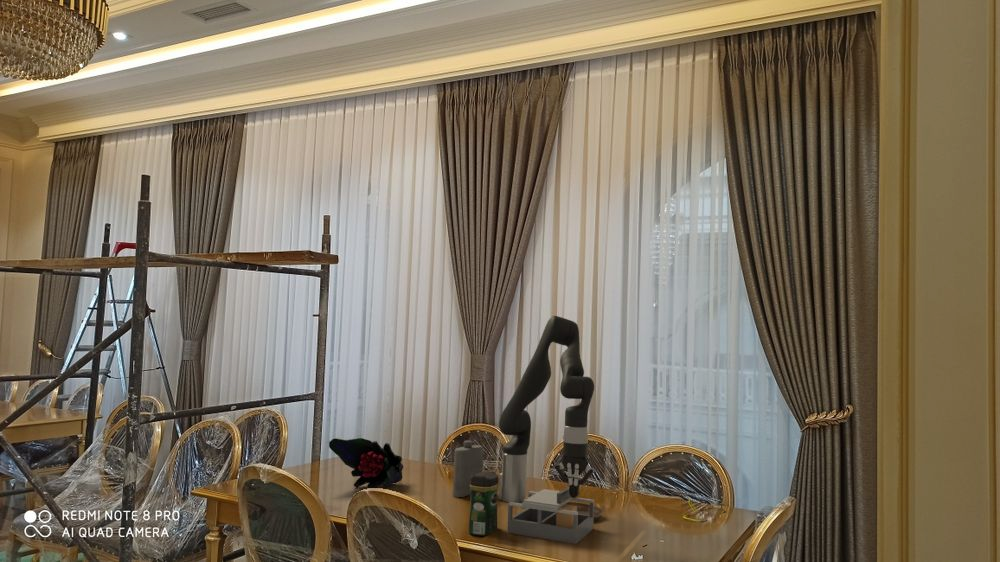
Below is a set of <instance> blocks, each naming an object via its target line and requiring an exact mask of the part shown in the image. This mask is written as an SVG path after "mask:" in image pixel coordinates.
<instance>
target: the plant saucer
mask: <svg viewBox="0 0 1000 562" xmlns="http://www.w3.org/2000/svg"><path fill="white" fill-rule="evenodd" d="M566 504H567V505H574V506H577V512H578V514H584V515H590V504H587V503H584V502H577V501H569V502H568V503H566ZM603 515H604V511H603V509H601V508H600V507H598V506H595V505H594V521H598V520H600V519H601V518H602V516H603ZM594 521H593V522H594Z"/></svg>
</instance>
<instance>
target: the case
mask: <svg viewBox="0 0 1000 562" xmlns="http://www.w3.org/2000/svg"><path fill="white" fill-rule="evenodd" d="M538 492H539V491H532V490H530V491H528V498H529V497H531V496H532V495H534V494H536V493H538ZM571 501H573V502H580V503H589V505H590V515H584V514H578V512H576V511H569V510H563V509H558V511H551V510H544V509H537V508H530V507H523V506H522V502H516V503H514V502H508V510H507V512H508V514H507V533H509V534H515V535H520V536H527V537H533V538H539V539H545V540H552V541H555V542H556V541H558V542H563V543H568V544H574V545H575V544H576V545H577V544H578V543H579V542H580V541H581V540H583V539H584V538H585V537H586V536H587V535H588V534H589V533H591V531H592V530H594V506H595V500H594V499H589V498H583V497H582V498H581V497H577V498H574V499H572V500H571ZM514 507H517V508H518V507H519V508H525V509H523V510H521V511H520V512H518V513H516V514H514V515H513V510H514V509H513V508H514ZM556 512H558V513H565V514H572V515H574V521H573V528H568V527H562V526H556Z"/></svg>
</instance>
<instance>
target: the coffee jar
mask: <svg viewBox="0 0 1000 562" xmlns="http://www.w3.org/2000/svg"><path fill="white" fill-rule="evenodd" d="M499 484H500V481H499V475H498V473H496V471H490V470H482V472H481V473H478V474H475V475H473V476H471V477H470V491H471V495H470V499H469V502H470V503H469V515H468V516H469V517H468V533H469V534H470V535H472V536H475V535H479V536H478V537H487V536H489V535H491V534H492V533H494V532H496V531H497V530H498V494H499V491H498V490H499Z"/></svg>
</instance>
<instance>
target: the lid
mask: <svg viewBox="0 0 1000 562" xmlns="http://www.w3.org/2000/svg"><path fill="white" fill-rule="evenodd" d="M537 492H538V493H536V494H534V495H532V496H531V497H529V496H528V497H526V499H525V500H524V502H521V504H522V506H523V507H522V508H524V507H530V508H537V509H544V510H551V511H558V509H559V508H560V507H562V506H563V505H565V504H566V503H568V502H572V501H573V500H572V499H574V498H571V495H569V485H568V486H567V487H564V489H562V490H553V489H546V488H543V489H541V490H540V491H537Z"/></svg>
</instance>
